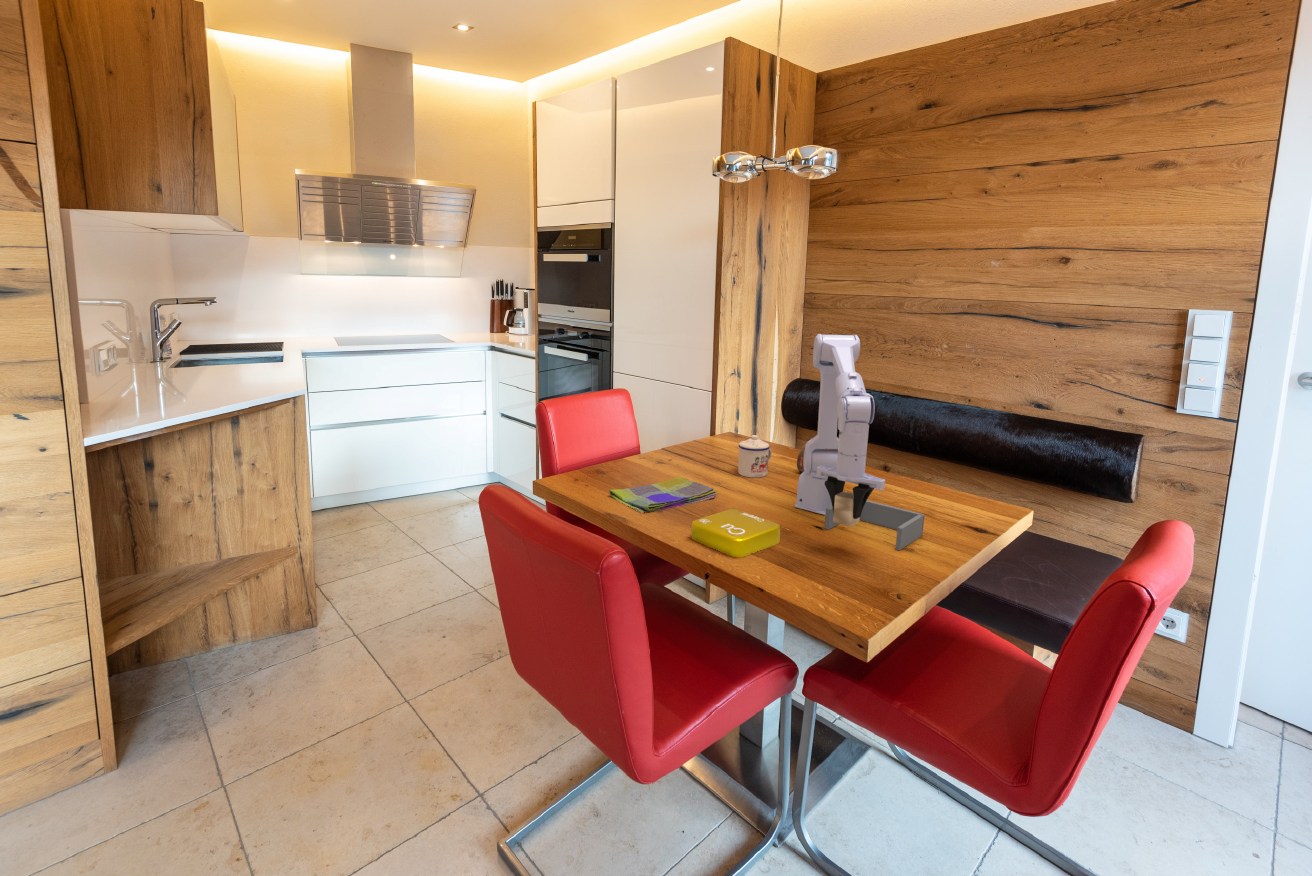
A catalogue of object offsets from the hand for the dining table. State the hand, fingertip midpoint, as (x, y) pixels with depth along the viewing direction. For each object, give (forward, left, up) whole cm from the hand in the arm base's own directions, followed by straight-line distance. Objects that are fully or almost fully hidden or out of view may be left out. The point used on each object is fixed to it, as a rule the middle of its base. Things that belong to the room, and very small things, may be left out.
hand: (846, 514), depth 142 cm
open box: (0, +14, -8) cm, 16 cm away
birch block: (0, 0, -2) cm, 2 cm away
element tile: (-20, -12, -8) cm, 25 cm away
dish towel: (-51, -1, -9) cm, 52 cm away
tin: (-37, +50, -8) cm, 62 cm away
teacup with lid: (-47, +35, -8) cm, 59 cm away
